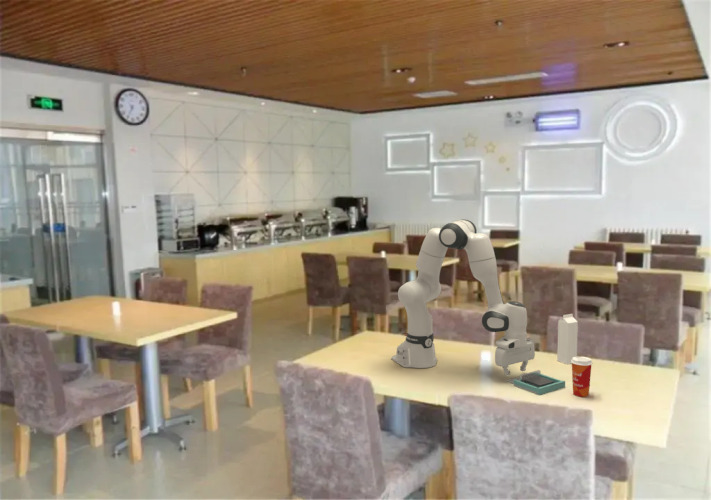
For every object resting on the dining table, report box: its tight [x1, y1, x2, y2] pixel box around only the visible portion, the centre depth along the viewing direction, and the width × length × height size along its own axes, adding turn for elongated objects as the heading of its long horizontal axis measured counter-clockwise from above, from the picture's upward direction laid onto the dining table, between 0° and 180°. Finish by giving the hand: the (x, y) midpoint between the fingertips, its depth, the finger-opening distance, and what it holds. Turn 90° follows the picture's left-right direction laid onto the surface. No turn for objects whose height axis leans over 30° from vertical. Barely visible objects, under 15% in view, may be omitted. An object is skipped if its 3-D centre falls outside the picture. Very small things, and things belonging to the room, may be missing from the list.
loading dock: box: [505, 373, 566, 396], centre depth 236 cm, size 19×15×4 cm
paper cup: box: [571, 356, 593, 398], centre depth 224 cm, size 8×8×14 cm
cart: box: [519, 369, 554, 387], centre depth 234 cm, size 9×11×4 cm
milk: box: [556, 313, 579, 365], centre depth 264 cm, size 6×6×22 cm
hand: (515, 372), depth 244 cm, fingers open, 8 cm apart
